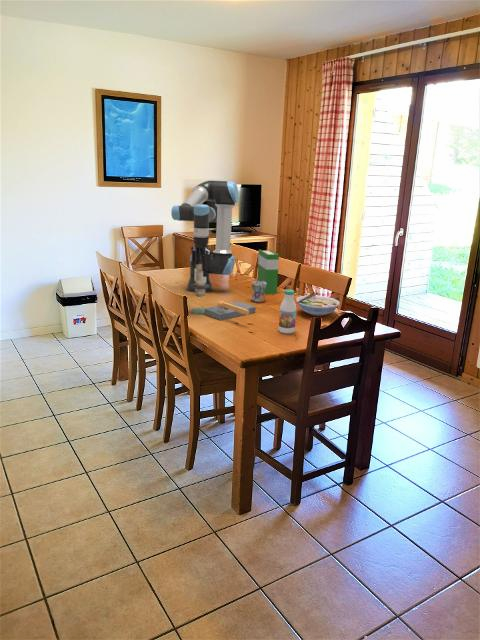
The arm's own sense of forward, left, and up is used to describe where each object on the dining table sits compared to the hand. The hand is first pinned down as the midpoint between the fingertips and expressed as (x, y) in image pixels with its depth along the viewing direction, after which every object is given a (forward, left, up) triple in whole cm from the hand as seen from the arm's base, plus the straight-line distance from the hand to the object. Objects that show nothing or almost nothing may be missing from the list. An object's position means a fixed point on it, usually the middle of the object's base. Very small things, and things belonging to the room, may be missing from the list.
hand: (200, 281), depth 258 cm
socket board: (+11, +11, -16) cm, 23 cm away
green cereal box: (-13, +62, -16) cm, 66 cm away
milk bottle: (+49, +14, -16) cm, 54 cm away
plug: (0, 0, -7) cm, 7 cm away
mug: (+1, +41, -16) cm, 44 cm away
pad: (0, 0, -16) cm, 16 cm away
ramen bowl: (+39, +48, -16) cm, 64 cm away
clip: (+22, +3, -10) cm, 25 cm away
